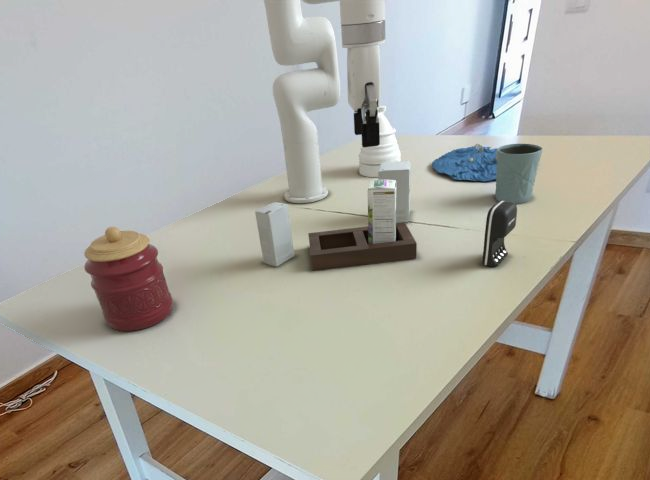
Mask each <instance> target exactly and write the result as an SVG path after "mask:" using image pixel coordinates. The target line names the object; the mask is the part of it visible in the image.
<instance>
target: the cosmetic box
mask: <svg viewBox="0 0 650 480" xmlns="http://www.w3.org/2000/svg"><path fill="white" fill-rule="evenodd" d="M254 214H255V220H256V227H257V230H258V237H259V243H260V249H261V255H262V262H263V263H264V264H266V265H269V266H272V267H279V266H280V265H282V264H284V263H286V262H287V261H289V260H291V259H292V258H294V257H295V251H294V250H295V249H294V240H293V235H292V225H291V217H290V209H289V204H286V203H283V202H277V201H274V202H271V203H269V204H267V205H265V206H263V207H261V208H259V209H257V210H255V211H254Z"/></svg>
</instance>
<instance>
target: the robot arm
mask: <svg viewBox="0 0 650 480" xmlns="http://www.w3.org/2000/svg"><path fill="white" fill-rule="evenodd" d="M301 1H302V3H305V4H308V5H320V4H327V3H333V2H334V3H335V2H339V13H340V31H341V33H340V34H341V48H343V49H346V74H347V75H346V76H347V77H346V79H347V81H346V82H347V83H346V84H347V103H348V105H349V107H350V108H351V109H352V110H353V111H354V112H353V128H354V129H353V131H354V132H353V133H354V135H355V136H360V135H361V147H362V146H363V147H372V146H378V145H379V144H380V132H379V116H378V113H379V111H378V108H379V107H380V106H381V105H382V104H381V102H382V77H381V75H382V74H381V72H382V71H381V51H380V49H381V48H380V45H385V44H386V0H263V4H264V8H265V15H266V20H267V26H268V27H267V28H268V33H269V39H270V45H271V50H272V56H273V58H274V60H275V62H276V63H277V64H278V65H280V66H285V67H286V66H298V65H304V64H311V63H315V64H316V66H317V67H314V68H308V69H307V68H306V69H300V70H299V69H298V70H294V71H287V72H285V73H282V74H280V75H279V76H276V78H275V79H274V81H273V83H272V96H273V100H274V103H275V107H276V111H277V114H278V115H277V116H278V119H279V124H280V130H281V131H280V132H281V139H282V145H283V154H284V160H285V167H286V168H285V169H286V177H287V184H288V185H287V186H288V190H287V191H285V193H284V195H283V196H284V200H285V201H287V202H289V203H293V204H308V203H313V202H317V201H321V200H323V199H325V198H327V196H328V195H329V189H328V188H327V187H326V186H323V181H322V169H321V168H322V167H321V157H320V147H319V137H318V129H317V125H315V123H314V122H313V121H312V120H311V119H310V117H309V116H308V115H307V113H309V112H312V111H317V110H323V109H328V108H332V107H335V106H336V105H338V103H339V101H340V99H341V91H342V90H341V77H340V68H339V58H338V48H337V39H336V34H335V31H334V27H333V25H332V23H331V22H330V20H329V19H328V18H327V17H324V16H319V15H318V16H310V17H309V16H308V17H304V16H303V12H302V11H303V10H302V3H301Z"/></svg>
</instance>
